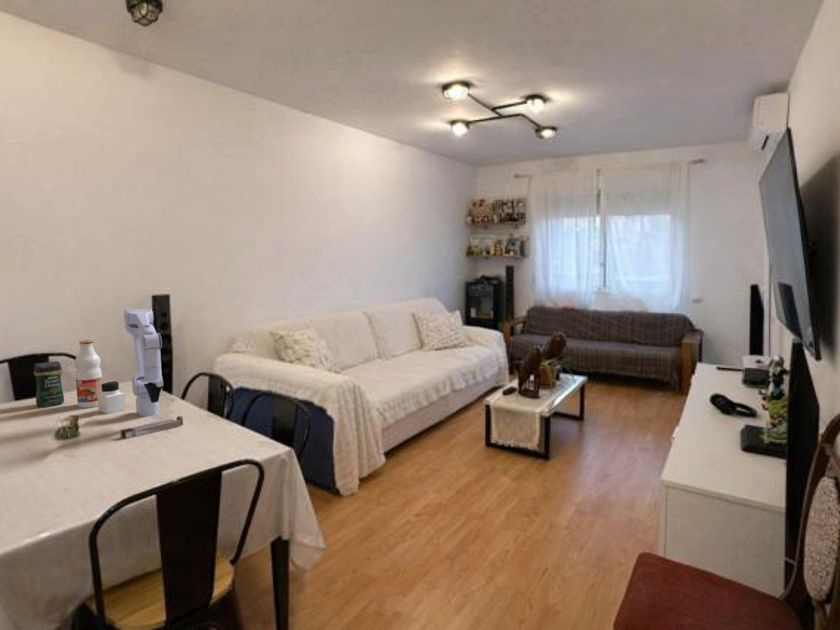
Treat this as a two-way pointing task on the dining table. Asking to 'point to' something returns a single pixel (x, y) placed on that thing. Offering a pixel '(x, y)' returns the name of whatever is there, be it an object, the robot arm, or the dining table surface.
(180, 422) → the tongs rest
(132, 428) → the hinged tong arm
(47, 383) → the coffee jar
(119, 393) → the medicine bottle
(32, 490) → the dining table surface
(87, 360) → the fruit juice
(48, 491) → the dining table surface
